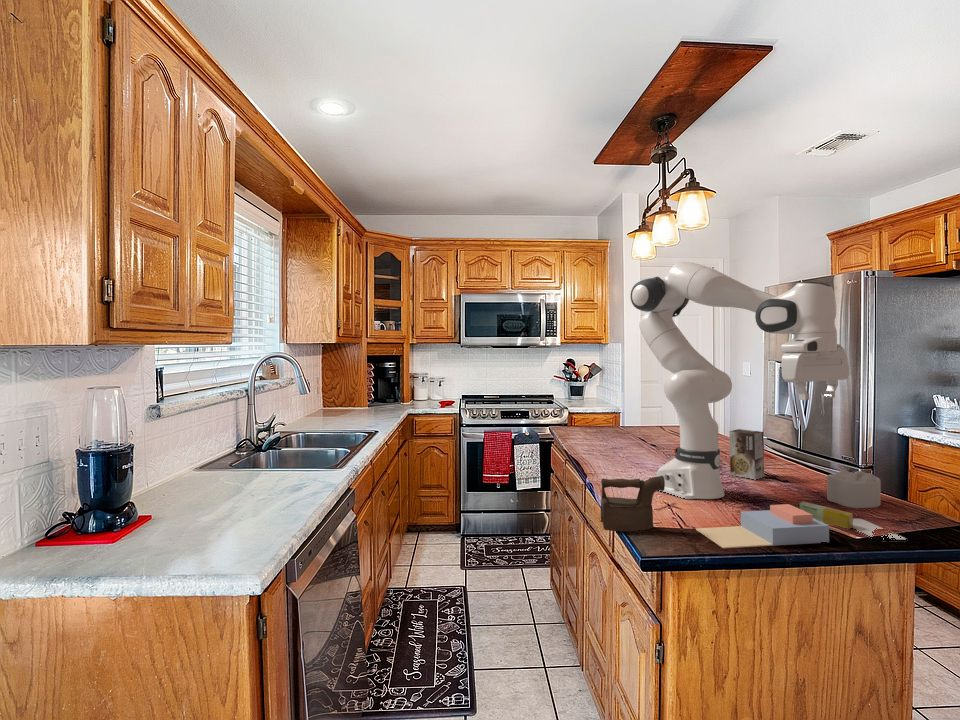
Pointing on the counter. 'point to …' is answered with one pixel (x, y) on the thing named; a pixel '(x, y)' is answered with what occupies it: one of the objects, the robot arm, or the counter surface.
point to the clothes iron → (629, 505)
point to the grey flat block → (783, 529)
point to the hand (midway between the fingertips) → (817, 399)
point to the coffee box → (747, 453)
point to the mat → (733, 537)
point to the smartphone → (871, 528)
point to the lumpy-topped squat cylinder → (854, 489)
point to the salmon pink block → (791, 514)
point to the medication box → (828, 514)
